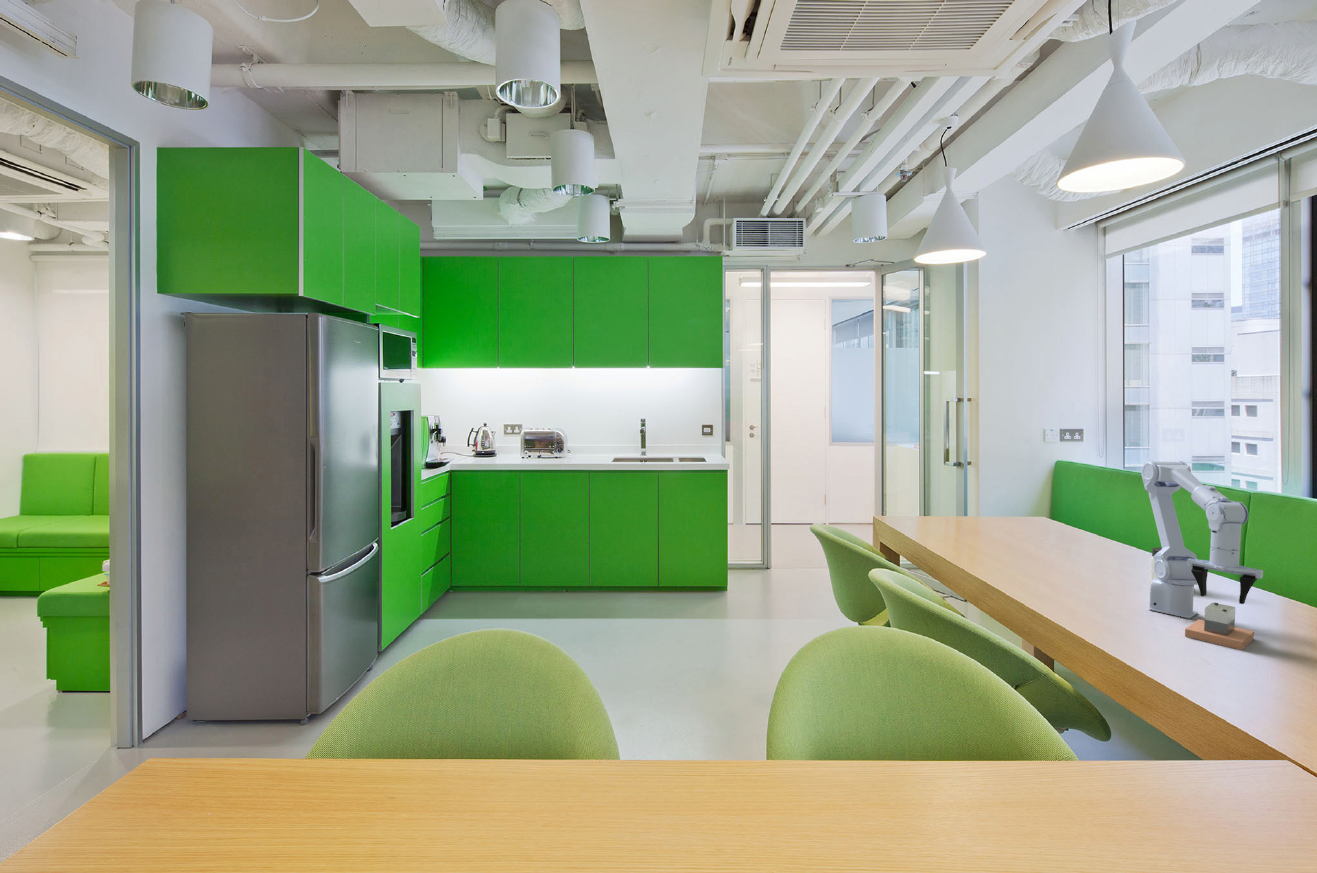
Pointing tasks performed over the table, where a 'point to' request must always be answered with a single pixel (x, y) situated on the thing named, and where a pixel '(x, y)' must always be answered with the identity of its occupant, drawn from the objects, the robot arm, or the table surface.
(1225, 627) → the block
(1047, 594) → the table surface
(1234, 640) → the stand
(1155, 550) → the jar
